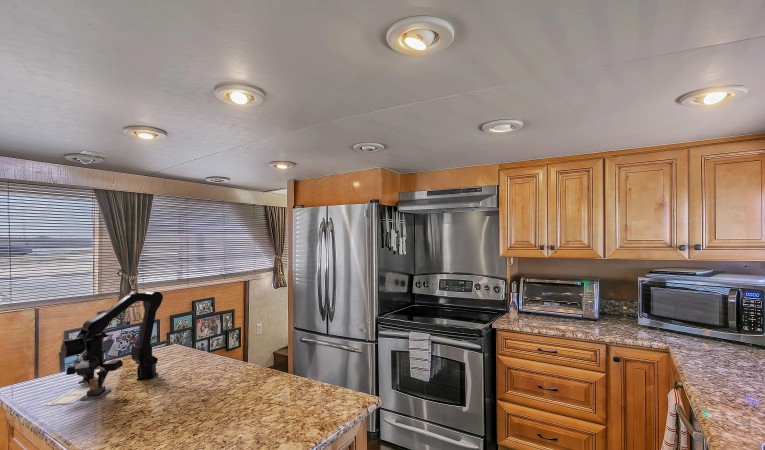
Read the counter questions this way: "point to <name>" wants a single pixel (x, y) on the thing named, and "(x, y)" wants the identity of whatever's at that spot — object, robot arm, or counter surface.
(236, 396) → the counter surface
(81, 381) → the sundae
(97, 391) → the stamp
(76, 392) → the form sheet
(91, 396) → the ink pad
